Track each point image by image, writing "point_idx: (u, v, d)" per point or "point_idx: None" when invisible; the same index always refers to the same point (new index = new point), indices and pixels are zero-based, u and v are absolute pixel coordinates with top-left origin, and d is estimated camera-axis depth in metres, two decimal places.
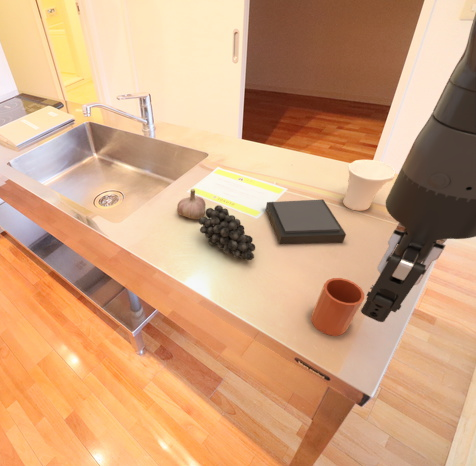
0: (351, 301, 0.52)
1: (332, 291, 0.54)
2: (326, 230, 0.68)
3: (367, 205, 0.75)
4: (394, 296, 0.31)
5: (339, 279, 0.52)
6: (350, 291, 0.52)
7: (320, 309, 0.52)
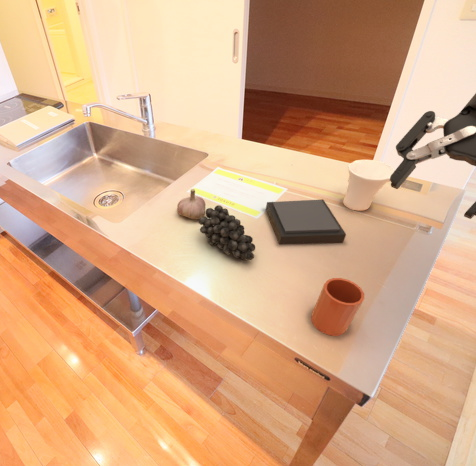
0: (351, 301, 0.52)
1: (332, 291, 0.54)
2: (326, 230, 0.68)
3: (367, 205, 0.75)
4: (409, 147, 0.44)
5: (339, 279, 0.52)
6: (350, 291, 0.52)
7: (320, 309, 0.52)
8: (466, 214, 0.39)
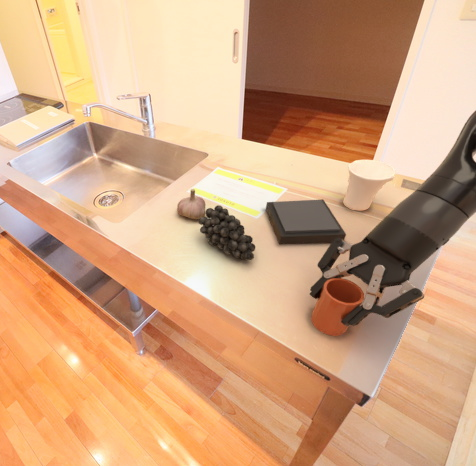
0: (351, 301, 0.52)
1: (332, 291, 0.54)
2: (326, 230, 0.68)
3: (367, 205, 0.75)
4: (327, 266, 0.53)
5: (339, 279, 0.52)
6: (350, 291, 0.52)
7: (320, 309, 0.52)
8: (342, 322, 0.49)
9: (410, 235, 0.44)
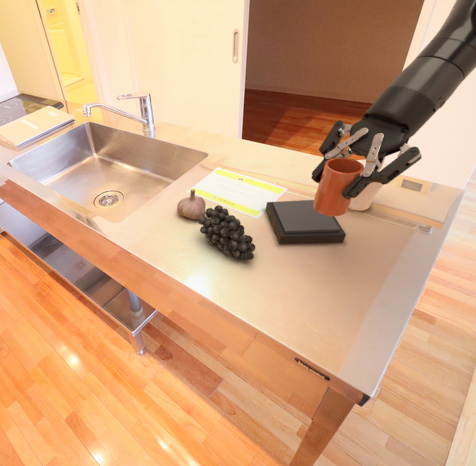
0: None
1: None
2: (326, 230, 0.68)
3: (367, 205, 0.75)
4: (329, 149, 0.55)
5: (340, 158, 0.54)
6: (350, 169, 0.54)
7: (321, 189, 0.54)
8: (342, 194, 0.51)
9: (408, 96, 0.46)
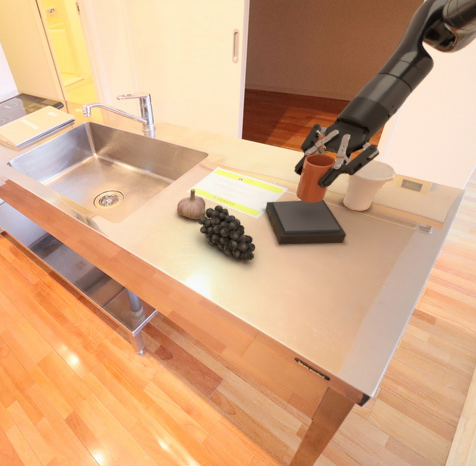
0: None
1: None
2: (326, 230, 0.68)
3: (367, 205, 0.75)
4: (308, 147, 0.67)
5: (317, 154, 0.66)
6: (325, 164, 0.66)
7: (302, 179, 0.67)
8: (318, 184, 0.64)
9: (368, 105, 0.58)
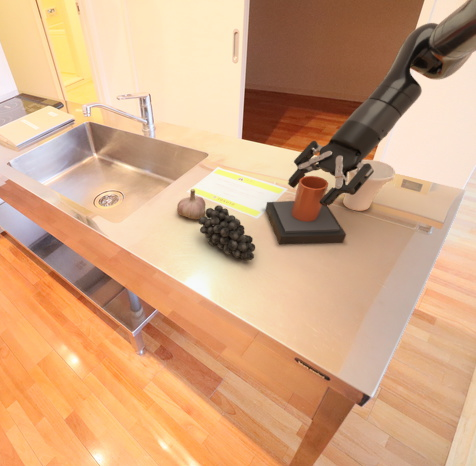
0: None
1: None
2: (326, 230, 0.68)
3: (367, 205, 0.75)
4: (301, 162, 0.71)
5: (311, 176, 0.69)
6: (319, 185, 0.69)
7: (297, 200, 0.70)
8: (320, 202, 0.65)
9: (359, 129, 0.61)
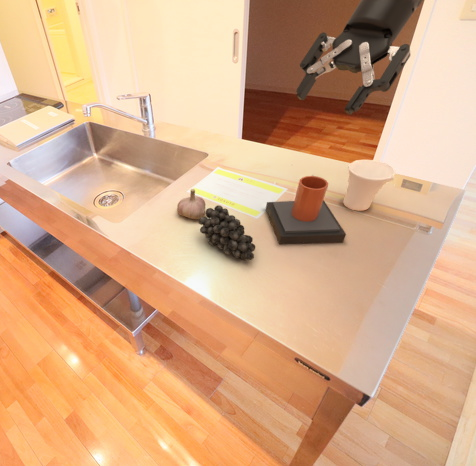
0: None
1: None
2: (326, 230, 0.68)
3: (367, 205, 0.75)
4: (309, 64, 0.56)
5: (311, 176, 0.69)
6: (319, 185, 0.69)
7: (297, 200, 0.70)
8: (345, 109, 0.51)
9: None
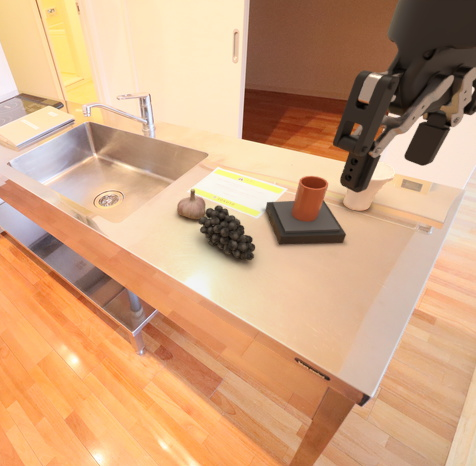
0: None
1: None
2: (326, 230, 0.68)
3: (367, 205, 0.75)
4: None
5: (311, 176, 0.69)
6: (319, 185, 0.69)
7: (297, 200, 0.70)
8: (423, 164, 0.31)
9: None
